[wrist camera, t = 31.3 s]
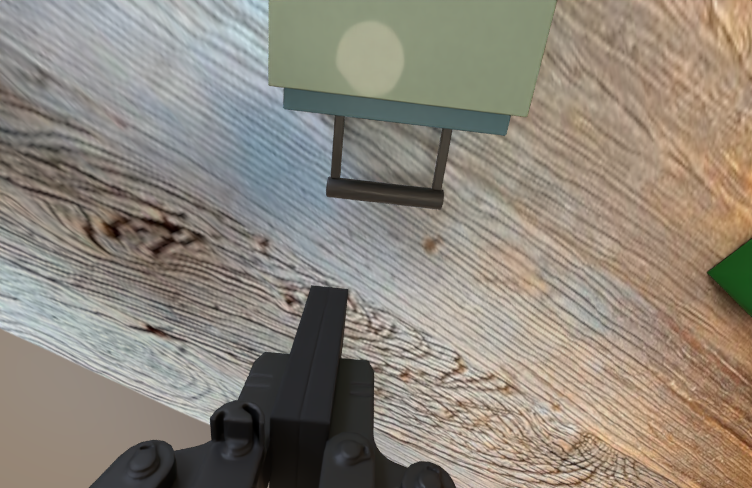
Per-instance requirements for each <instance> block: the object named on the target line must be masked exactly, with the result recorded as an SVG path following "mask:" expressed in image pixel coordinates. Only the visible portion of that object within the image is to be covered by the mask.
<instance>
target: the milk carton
mask: <svg viewBox="0 0 752 488" xmlns="http://www.w3.org/2000/svg"><path fill="white" fill-rule="evenodd" d="M707 273H708V274H709V275H710V276H711V277H712V278H713V279H714V280H715V281H716V282H717V283H718V284H719V285H720V286H721V287H722V288H723V289H724V290H725V291H726V292H727V293H728V294H729V295H730V296H731V297H732V298H733V299H734V300H735V301H736V302H737V303H738V304H739V305H740V306H741V307H742V308H743V309H744V310H745V311H746V312H747V313H748V314H749V315H750V316H751V317H752V239H751V240H750V241H748V242H747V243H746V244H744V245H743V246H742V247H740V248H739V249H738V250H736V251H735V252H734V253H732V254H731V255H730V256H728V257H727V258H726V259H725V260H723V261H722V262H721V263H719V264H718V265H717V266H715V267H714V268H713V269H711V270H710V271H709V272H707Z"/></svg>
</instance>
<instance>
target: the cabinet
mask: <svg viewBox="0 0 752 488" xmlns="http://www.w3.org/2000/svg"><path fill="white" fill-rule="evenodd" d="M556 3H557V0H269V58H268V85H269V86H275V87H284V88H292V89H300V90H308V91H316V92H324V93H333V94H341V95H349V96H357V97H365V98H373V99H382V100H390V101H398V102H406V103H414V104H422V105H431V106H439V107H447V108H455V109H463V110H471V111H480V112H488V113H496V114H504V115H512V116H520V117H527V116H528V112H529V108H530V105H531V101H532V97H533V93H534V89H535V85H536V81H537V77H538V73H539V69H540V66H541V62H542V58H543V54H544V50H545V46H546V42H547V38H548V34H549V31H550V27H551V23H552V19H553V15H554V11H555V7H556Z"/></svg>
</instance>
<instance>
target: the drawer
mask: <svg viewBox="0 0 752 488" xmlns="http://www.w3.org/2000/svg"><path fill="white" fill-rule="evenodd" d="M283 108H284V109H288V110H296V111H304V112H312V113H321V114H329V115H335V123H334V137H333V152H332V167H331V177H328V180H327V187H326V196H327V197H333V198H342V199H350V200H359V201H368V202H377V203H385V204H394V205H403V206H412V207H421V208H429V209H438V210H440V209H441V208H442V205H443V199H444V191H443V190H441V189H442V183H443V178H444V173H445V167H446V162H447V156H448V151H449V146H450V140H451V135H452V129H453V130H462V131H470V132H478V133H487V134H495V135H503V136H505V135H506V134H507V130H508V126H509V121H510V117H511V115H504V114H496V113H488V112H480V111H471V110H463V109H455V108H447V107H439V106H431V105H422V104H414V103H406V102H398V101H390V100H382V99H373V98H365V97H357V96H349V95H341V94H333V93H324V92H316V91H308V90H300V89H292V88H284V99H283ZM345 116H346V117H354V118H362V119H370V120H379V121H387V122H395V123H404V124H412V125H420V126H429V127H437V128H442V132H441V138H440V144H439V149H438V155H437V161H436V166H435V172H434V178H433V183H432V188H424V187H415V186H406V185H398V184H389V183H381V182H372V181H363V180H355V179H346V178H340V173H341V160H342V148H343V135H344V122H345Z"/></svg>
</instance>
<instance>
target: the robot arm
mask: <svg viewBox="0 0 752 488" xmlns="http://www.w3.org/2000/svg"><path fill="white" fill-rule="evenodd" d="M347 298H348V289H342V288H332V287H322V286H312V285H311V289H310V292H309V295H308V298H307V301H306V304H305V308H304V311H303V314H302V317H301V320H300V323H299V327H298V330H297V333H296V336H295V339H294V342H293V346H292V349H291V352H290V354H282V353H271V352H264V353H263V354H262V355H261V356H260V357H259V358H258V359H257V360H256V361H255V362H254V363H253V366H252V368H251V370H250V373H249V376H248V377H247V380H246V382H245V385H244V387H243V389H242V391H241V394H240V396H239V398H238V400H235V401H232V402H229V403H226V404H224V405H223V406H221V407H220V408H218V409H217V410H216V411H215V412H214V413H213V415H212V416H211V417H210V427H211V439H212V440H211V441H209V442H207V443H205V444H202V445H199V446H196V447H191V448H186V449H181V450H176V451H174V450H173V448H172V446H171V445H170V444H168V443H166V442H165V441H160V440H150V441H145V442H141V443H139V444H137V445H135V446H133V447H131V448H129V449H128V450H127V451H125V452H124V453H123V454H122V455H120V456H119V457H118V458H117V459H116V460H115V461H114V462H113V463H112V464H111V465H110V467H109V468H108V469H107V470H106V471H105V472H104V473H103V474H102V475H101V476H100V477H99V478H98V479H97V480H96V481H95V482H94V483H93V484H92V485H91V486H90V487H89V488H267V487H268V483H269V488H456V486H455V484H454V482H453V480H452V479H451V477H450V476H449V474H448V473H447V472H446V471H445V470H444V469H443V468H441V467H440V466H439V465H436V464H434V463H431V462H423V461H419V462H417V463H414V464H411V465H410V466H409V467H408V468H407V467H404V466H402V465H399V464H397V463H395V462H393V461H391V460H389V459H387V458H386V457H385V456H384V455H383V454H382V453H381V452H380V451H379V449H378V448H377V446H376V444H375V441H374V435H373V427H374V371H373V369H372V367H371V365H370V363H369V361H366V360H355V359H345V358H341V354H342V347H343V338H344V328H345V318H346V308H347Z"/></svg>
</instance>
